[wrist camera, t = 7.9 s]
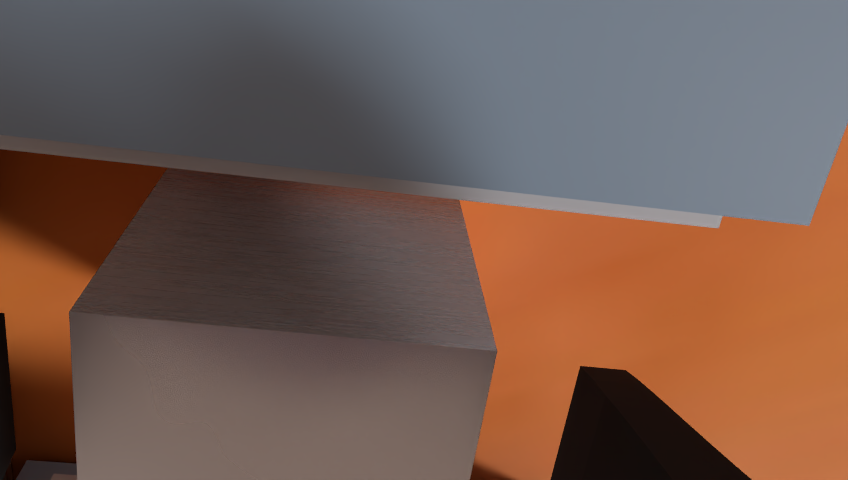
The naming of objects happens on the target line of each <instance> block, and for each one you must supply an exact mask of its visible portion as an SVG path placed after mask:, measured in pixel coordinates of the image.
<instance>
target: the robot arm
mask: <svg viewBox="0 0 848 480" xmlns="http://www.w3.org/2000/svg"><path fill="white" fill-rule="evenodd" d="M15 450H16V441H15V430H14V418H13V407H12V396H11V384H10V373H9V362H8V350H7V339H6V328H5V316H4V313H0V480H3V478H4V475H5V473H6V471H7V468H8V466H9V464H10V461H11V459H12V457H13V455H14V452H15ZM551 480H752V479H750V478H749V477H748V476H747V475H746V474H744V473H743V472H742V471H741V470H740V469H739V468H737V467H736V466H735V465H734V464H733V463H732V462H730V461H729V460H728V459H727V458H726V457H725V456H724V455H722V454H721V453H720V452H719V451H718V450H717V449H716V448H714V447H713V446H712V445H711V444H710V443H709V442H708V441H707V440H705V439H704V438H703V437H702V436H701V435H700V434H699V433H698V432H696V431H695V430H694V429H693V428H692V427H691V426H690V425H689V424H688V423H686V422H685V421H684V420H683V419H682V418H681V417H680V416H679V415H678V414H676V413H675V412H674V411H673V410H672V409H671V408H670V407H669V406H668V405H666V404H665V403H664V402H663V401H662V400H661V399H660V398H659V397H657V396H656V395H655V394H654V393H653V392H652V391H651V390H649V389H648V388H647V387H646V386H645V385H644V384H642V383H641V382H640V381H639V380H638V379H636V378H635V377H634V376H632V375H631V374H630V373H629V372H627V371H626V370H618V369H607V368H596V367H585V366H580V370H579V373H578V377H577V381H576V385H575V389H574V393H573V396H572V400H571V404H570V408H569V412H568V415H567V419H566V423H565V427H564V431H563V435H562V438H561V442H560V446H559V450H558V454H557V458H556V461H555V465H554V469H553V473H552V477H551Z"/></svg>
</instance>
